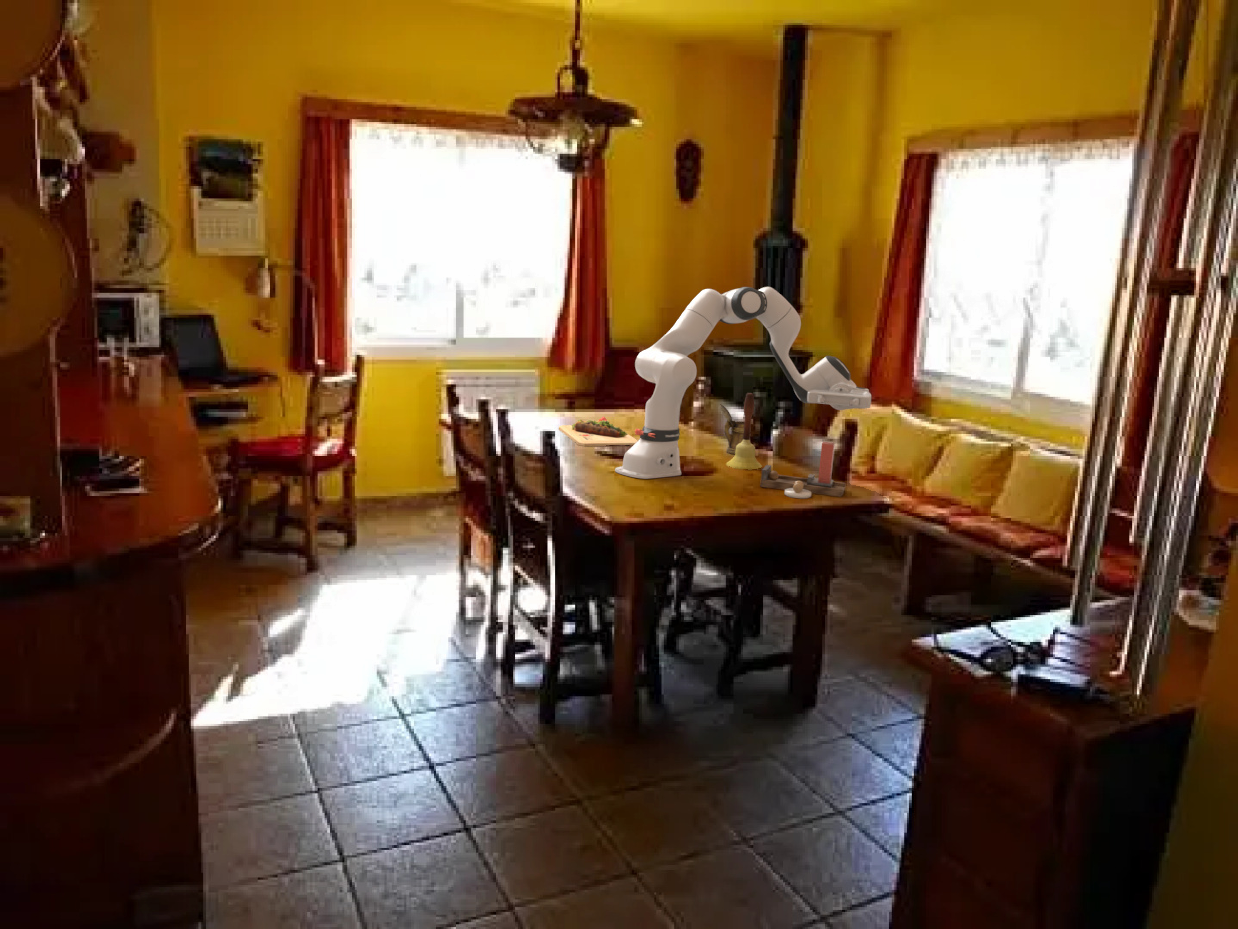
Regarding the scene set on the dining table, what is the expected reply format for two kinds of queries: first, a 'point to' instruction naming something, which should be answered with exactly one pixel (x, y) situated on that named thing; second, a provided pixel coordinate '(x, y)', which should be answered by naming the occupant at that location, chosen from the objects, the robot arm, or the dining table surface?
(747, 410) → the handbell
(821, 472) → the jaw slider
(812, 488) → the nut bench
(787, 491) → the nut dish
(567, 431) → the cutting board
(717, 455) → the dining table surface
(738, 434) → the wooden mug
